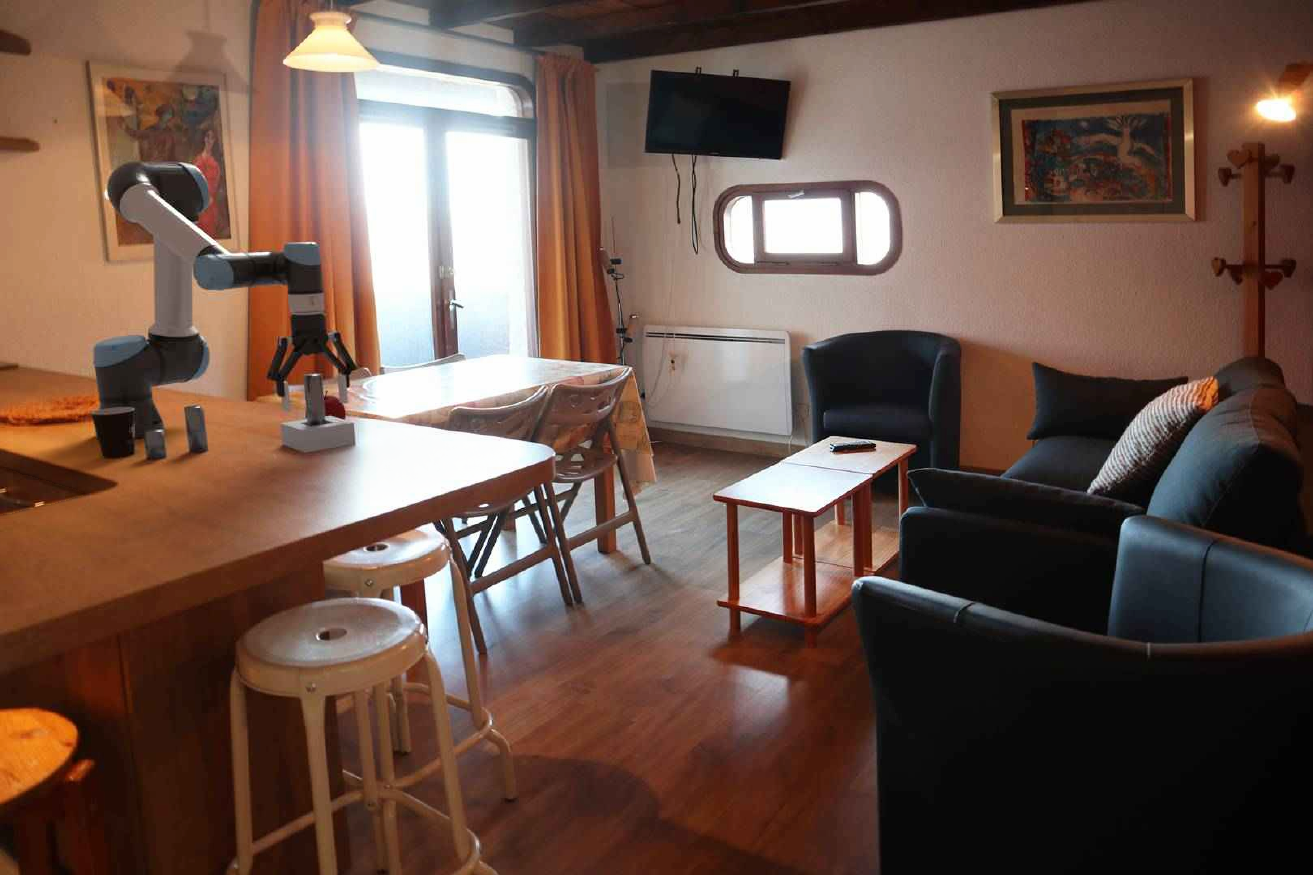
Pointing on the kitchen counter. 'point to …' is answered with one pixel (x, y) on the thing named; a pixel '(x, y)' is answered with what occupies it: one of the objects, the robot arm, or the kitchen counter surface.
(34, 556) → the kitchen counter surface
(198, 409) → the medium pin
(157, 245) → the robot arm
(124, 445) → the coffee mug
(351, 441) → the hole block
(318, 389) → the long pin
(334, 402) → the apple
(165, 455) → the short pin
